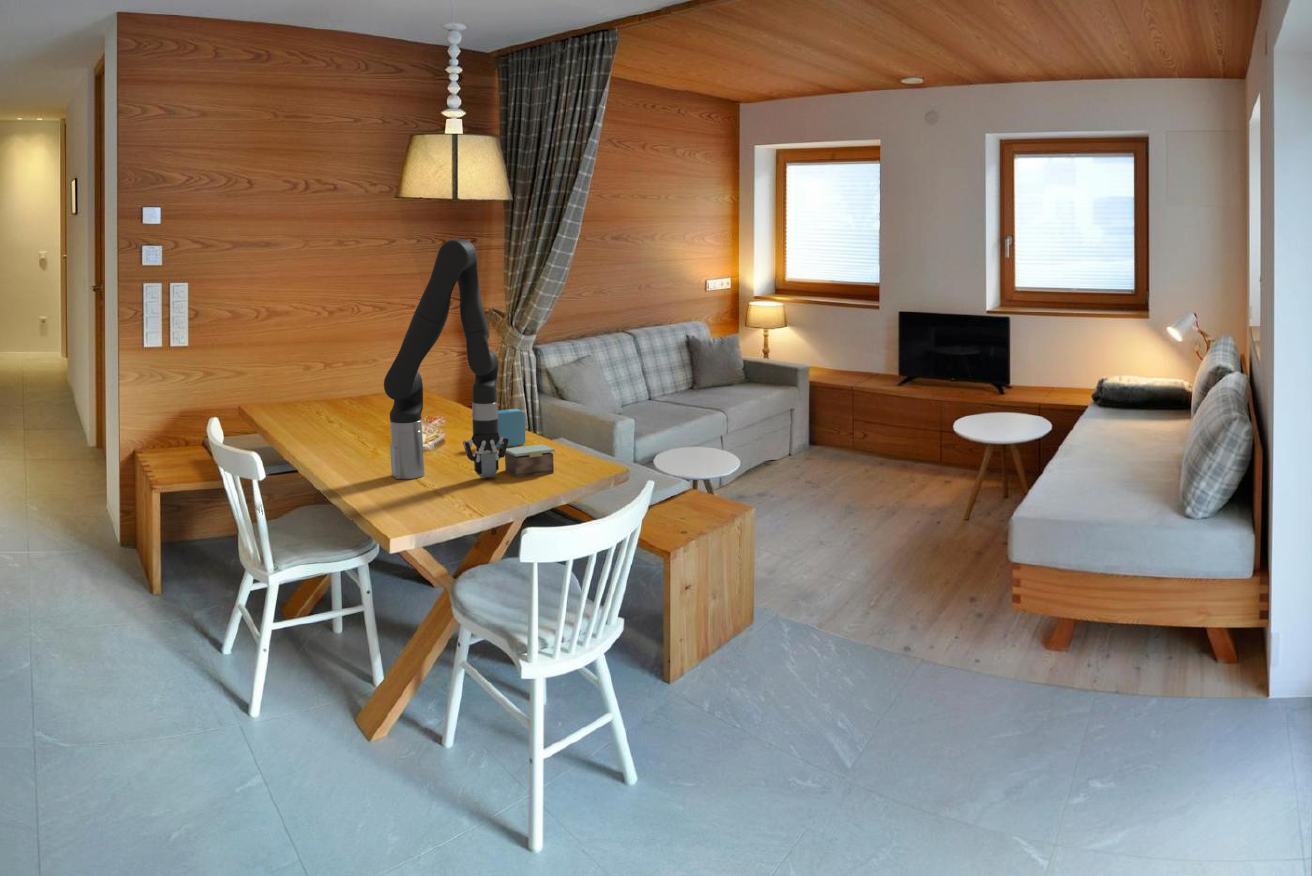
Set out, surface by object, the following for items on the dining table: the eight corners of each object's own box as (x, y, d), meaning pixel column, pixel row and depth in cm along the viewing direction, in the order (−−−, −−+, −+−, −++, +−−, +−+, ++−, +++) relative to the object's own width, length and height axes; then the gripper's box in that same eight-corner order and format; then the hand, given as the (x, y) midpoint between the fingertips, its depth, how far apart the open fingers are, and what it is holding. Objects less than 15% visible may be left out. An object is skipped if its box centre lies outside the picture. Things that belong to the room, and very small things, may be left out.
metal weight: (482, 477, 312) (481, 454, 311) (477, 474, 316) (476, 451, 314) (496, 476, 314) (495, 453, 313) (491, 472, 318) (490, 450, 316)
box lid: (516, 459, 314) (515, 453, 313) (503, 453, 323) (503, 448, 323) (555, 454, 319) (555, 449, 319) (542, 448, 329) (542, 443, 329)
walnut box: (516, 477, 316) (516, 458, 315) (505, 470, 325) (504, 451, 324) (553, 472, 322) (553, 453, 320) (541, 465, 330) (541, 447, 329)
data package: (521, 442, 363) (520, 408, 360) (526, 444, 359) (524, 410, 356) (488, 446, 357) (486, 411, 355) (492, 448, 353) (491, 413, 351)
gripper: (465, 421, 305) (467, 478, 308) (512, 417, 311) (513, 472, 315) (457, 416, 311) (459, 472, 315) (503, 412, 318) (505, 467, 321)
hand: (486, 472), depth 315 cm, fingers closed on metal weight, 4 cm apart
